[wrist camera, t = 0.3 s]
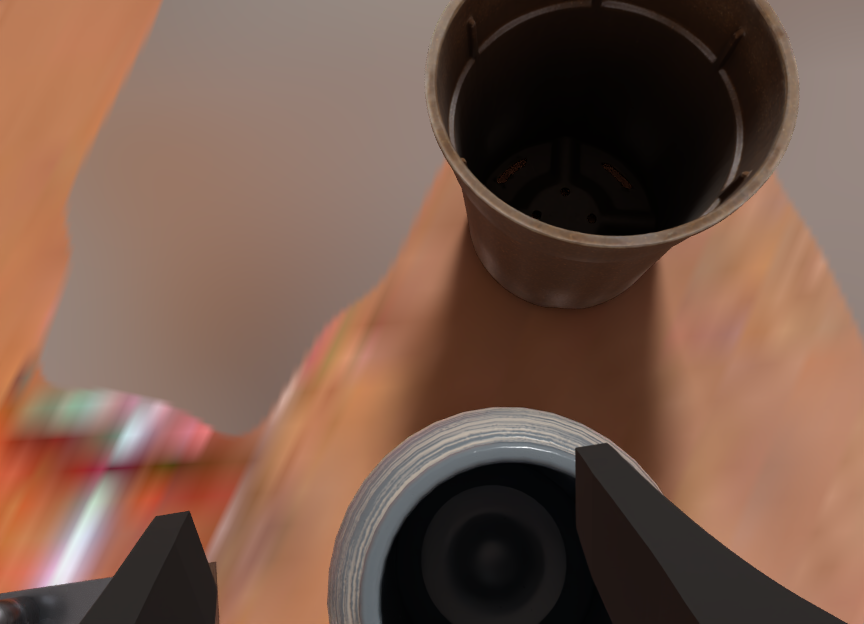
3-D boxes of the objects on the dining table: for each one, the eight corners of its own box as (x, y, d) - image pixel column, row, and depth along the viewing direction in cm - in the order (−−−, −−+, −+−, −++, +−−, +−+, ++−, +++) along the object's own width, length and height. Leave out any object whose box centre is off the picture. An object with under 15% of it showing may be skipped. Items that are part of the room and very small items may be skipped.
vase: (598, 465, 43) (734, 409, 21) (590, 681, 40) (739, 884, 18) (403, 446, 44) (335, 371, 22) (380, 655, 41) (272, 817, 19)
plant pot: (540, 66, 50) (571, -134, 35) (741, 199, 47) (873, 41, 31) (389, 238, 48) (349, 102, 32) (591, 392, 44) (656, 324, 29)
